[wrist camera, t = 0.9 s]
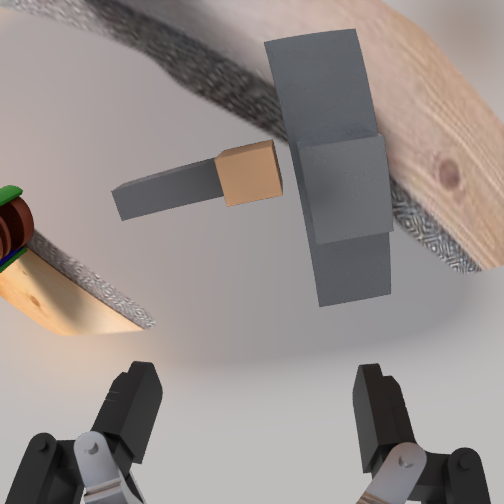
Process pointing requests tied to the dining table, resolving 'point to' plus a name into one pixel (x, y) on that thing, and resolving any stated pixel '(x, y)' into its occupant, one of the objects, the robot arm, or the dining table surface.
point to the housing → (336, 162)
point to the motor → (13, 225)
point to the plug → (205, 182)
